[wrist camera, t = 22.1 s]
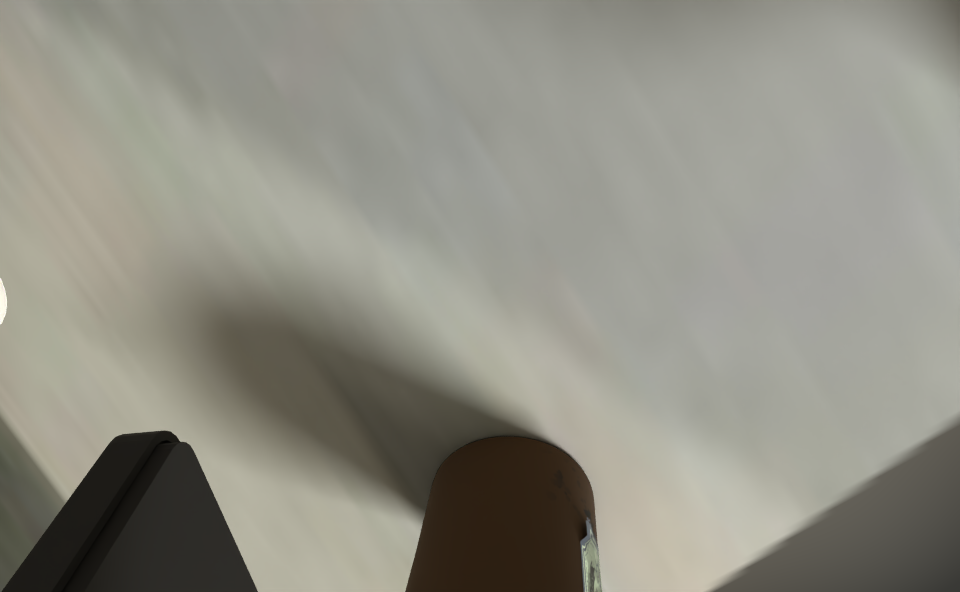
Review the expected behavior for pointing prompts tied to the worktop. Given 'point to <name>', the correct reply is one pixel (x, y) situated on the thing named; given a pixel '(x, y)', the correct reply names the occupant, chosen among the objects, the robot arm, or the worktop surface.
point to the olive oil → (508, 522)
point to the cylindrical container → (2, 301)
